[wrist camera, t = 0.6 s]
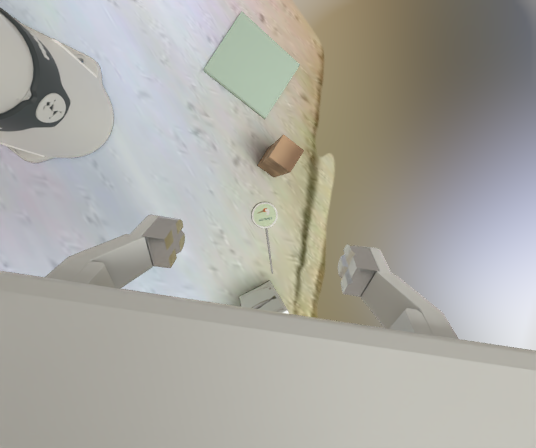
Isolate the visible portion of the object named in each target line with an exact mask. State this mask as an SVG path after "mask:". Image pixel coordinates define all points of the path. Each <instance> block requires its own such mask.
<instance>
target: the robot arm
mask: <svg viewBox="0 0 536 448" xmlns="http://www.w3.org/2000/svg"><path fill="white" fill-rule="evenodd" d="M81 61H84V63H82V62H81ZM113 121H114V114H113V108H112V104H111V101H110V99H109V97H108V95H107V93H106V91H105V89H104V87H103V84H102V74H101V68H100V66H99V64H98V63H97V62H96V61H95V60H94V59H92V58H91V57H89V56H87V55H85V54H83V53H81V52H79V51H77V50H75V49H73V48H71V47H69V46H67V45H65V44H63V43H60V42H58V41H57V40H55V39H52V38H50V37H48V36H46V35H44V34H42V33H40V32H38V31H36V30H34V29H32V28H30V27H28V26H26V25H24V24H22V23H21V22H19V21H18V20H17V19H16V18H13V17H12V16H11V15H9V14H8V13H7V12H6V11H4V10H3V9H1V8H0V144H2V145H5V146H7V147H8V148H9V149H10V150H12V151H13V152H14V153H16V154H17V155H18V156H19V157H21V158H22V159H24V160H25V161H28V162H31V163H39V162H43V161H46V160H49V159H51V158H76V157H82V156H85V155H88V154H90V153H92V152H94V151H96V150H97V149H99V148H100V147H101V146H102V145H103V144H104V143H105V142H106V140H107V139H108V137H109V135H110V133H111V131H112V127H113ZM182 228H183V223H182V220H180V219H175V218H169V217H163V216H156V215H148V216H147V217H146V218H145V219H144V220H143V221H142V222H141V223H140V224H139V225H138V226H137V227H136V228H135V229H134V230H133V231H132V233H131V234H125V235H123V236H120V237H118V238H115V239H113V240H110V241H107V242H105V243H102V244H100V245H97V246H95V247H92V248H90V249H87V250H84V251H82V252H79V253H77V254H74V255H72V256H69V257H68V258H67V259H65V260H64V261H63V262H62V263H61V264H60V265H58V266H57V267H56V268H55V269H54V270H53V271H51V272H50V273H49V274H48V275H47V276H46V277H39V276H32V275H25V274H19V273H12V272H5V271H0V448H536V351H534V350H527V349H521V348H514V347H507V346H500V345H493V344H487V343H480V342H474V341H467V340H460V339H458V337H457V335H456V334H455V332H454V331H453V329H452V327H451V326H450V324H449V322H448V321H447V319H446V317H445V316H444V314H443V313H442V312H441V311H440V310H439V309H437V308H436V307H435V306H434V305H433V304H431V303H430V302H429V301H427V300H426V299H425V298H424V297H423V296H421V295H420V294H419V293H418V292H416V291H415V290H414V289H413V288H411V287H410V286H409V285H408V284H407V283H405V282H404V281H403V280H402V279H400V278H399V277H398V276H397V275H395V274H392V273H391V271H390V269H389V267H388V265H387V263H386V261H385V259H384V257H383V255H382V253H381V250H380V249H378V248H371V247H362V246H355V245H346V247H345V249H344V255H343V256H341V257H340V260H339V264H338V273H339V276H340V277H341V278H342V281H341V287H342V291H343V294H347V295H353V296H358V297H361V299H362V300H363V301H364V303H365V304H366V305H367V306H368V308H369V309H370V310H371V311H372V313H373V314H374V315H375V316H376V318H377V319H378V320H379V321H380V323H381V324H382V325H383V326H384V328H380V327H373V326H366V325H359V324H353V323H346V322H340V321H333V320H327V319H320V318H313V317H306V316H300V315H293V314H286V313H280V312H273V311H266V310H260V309H253V308H246V307H240V306H233V305H226V304H220V303H213V302H206V301H199V300H193V299H186V298H179V297H173V296H166V295H159V294H153V293H146V292H139V291H133V290H126V289H120V288H122V287H123V286H125V285H126V284H128V283H129V282H131V281H132V280H134V279H135V278H137V277H138V276H140V275H141V274H143V273H144V272H146V271H147V270H149V269H150V268H152V267H153V266H158V267H166V268H171V267H172V265H173V263H174V262H175V260H176V258H177V257H176V254H177V253H179V252H181V250H182V248H183V245H184V241H185V236H184V233H183V232H182V231H181V229H182Z"/></svg>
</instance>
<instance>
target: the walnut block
mask: <svg viewBox="0 0 536 448" xmlns="http://www.w3.org/2000/svg"><path fill="white" fill-rule="evenodd" d="M303 151H304V150H303V149H301V148H300V147H299V146H298V145H296V144H295V143H294V142H293V141H291V140H290V139H289V138H287V137H286V136H285V135H284V134H283V135H282V136H281V137H280V138H279V139H278V140H277V141H276V142H275V143H274V144H272V145H271V146H270V147H269V148H268V150H267V151H266V153H265V154H264V156H263V157H262V159H261V160H260V162H259V164H258V165H257V166H259V167H260V168H261V169H263V170H264V171H266V172H267V173H268V174H270V175H271V176H273V177H277V176H280V175H283V174H286V173H289V172H291V170H292V169H293V167H294V166H295V164H296V162H297V161H298V159H299V158H300V156H301V155H302V153H303Z"/></svg>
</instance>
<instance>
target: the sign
mask: <svg viewBox="0 0 536 448" xmlns="http://www.w3.org/2000/svg"><path fill="white" fill-rule="evenodd" d="M252 220H253V222H254V224H255V225H257V226H258V227H260V228H265V229H266V236H267V244H268V251H269V258H270V265H271V271H272V273H273V270H272V262H271V254H270V246H269V238H268V230H267V228H269V227H271V226H272V225H274V223H275V222H276V220H277V210H276V208H275V207H274V206H273V205H272V204H270V203H267V202H262V203H259V204H257V205H256V206H255V207H254V208H253V210H252Z"/></svg>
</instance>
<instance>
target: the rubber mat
mask: <svg viewBox="0 0 536 448" xmlns="http://www.w3.org/2000/svg"><path fill="white" fill-rule="evenodd" d="M299 65H300V64H299V63H298V62H296V61H295V60H294V59H293V58H292V57H291V56H290V55H289V54H288V53H287V52H286V51H284V50H283V49H282V48H281V47H280V46H279V45H278V44H277V43H276V42H275V41H273V40H272V39H271V38H270V37H269V36H268V35H267V34H266V33H265V32H264V31H263V30H261V29H260V28H259V27H258V26H257V25H256V24H255V23H254V22H253V21H252V20H251V19H249V18H248V17H247V16H246V15H245V14H244V13H243V12H241V13H240V15H239V16H238V18H237V19H236V21H235V22H234V24H233V25H232V27H231V28H230V30H229V31H228V33H227V35H226V36H225V38H224V39H223V41H222V42H221V44H220V45H219V47H218V48H217V50H216V51H215V53H214V54H213V56H212V57H211V59H210V60H209V62H208V64H207V65H206V67H205V68H204V72H205V73H207V74H208V75H209V76H210V77H212V78H213V79H214V80H216V81H217V82H218V83H219V84H221V85H222V86H223V87H224V88H226V89H227V90H228V91H229V92H231V93H232V94H233V95H234V96H236V97H237V98H238V99H240V100H241V101H242V102H243V103H245V104H246V105H247V106H248V107H250V108H251V109H252V110H253V111H255V112H256V113H257V114H259V115H260V116H261V117H262V118H264V119H265V118H266V117H267V115H268V114H269V112H270V110H271V109H272V107H273V106H274V104H275V103H276V101H277V100H278V98H279V96H280V95H281V93H282V92H283V90H284V89H285V87H286V86H287V84H288V83H289V81H290V79H291V78H292V76H293V75H294V73H295V72H296V70H297V69H298V67H299Z"/></svg>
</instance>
